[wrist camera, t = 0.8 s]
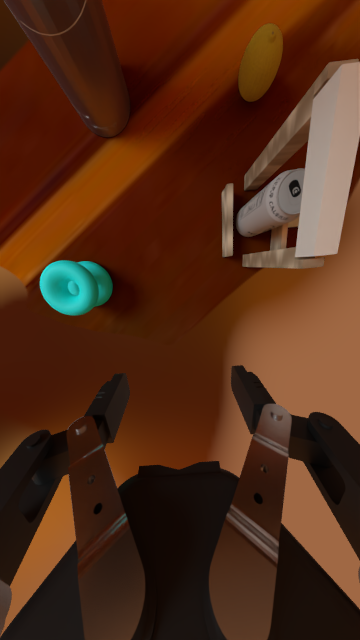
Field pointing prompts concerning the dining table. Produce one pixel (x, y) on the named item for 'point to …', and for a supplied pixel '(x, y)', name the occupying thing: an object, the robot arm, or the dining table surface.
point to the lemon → (260, 62)
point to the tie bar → (329, 162)
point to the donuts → (75, 286)
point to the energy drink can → (272, 204)
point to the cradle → (266, 165)
